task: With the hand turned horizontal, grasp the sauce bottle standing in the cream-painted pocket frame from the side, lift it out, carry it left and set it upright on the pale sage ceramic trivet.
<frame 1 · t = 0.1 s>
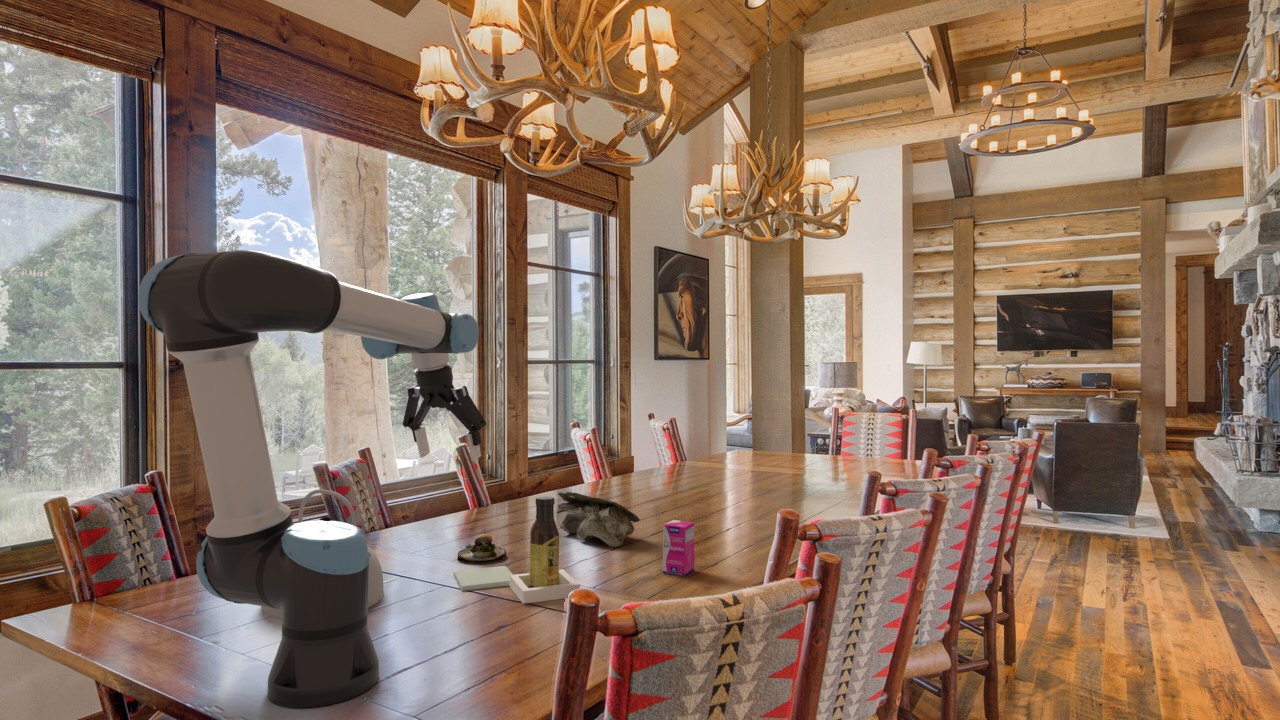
hand: (450, 456, 155), 28 cm above the table, tool tilted 20°, fingers open, 13 cm apart
kettle: (328, 602, 142), on the table
supplement box: (678, 572, 163), on the table
pocket frame: (544, 591, 148), on the table
sauce bottle: (544, 592, 148), resting in pocket frame
log: (594, 538, 196), on the table
trivet: (484, 579, 156), on the table
burger: (482, 559, 175), on the table
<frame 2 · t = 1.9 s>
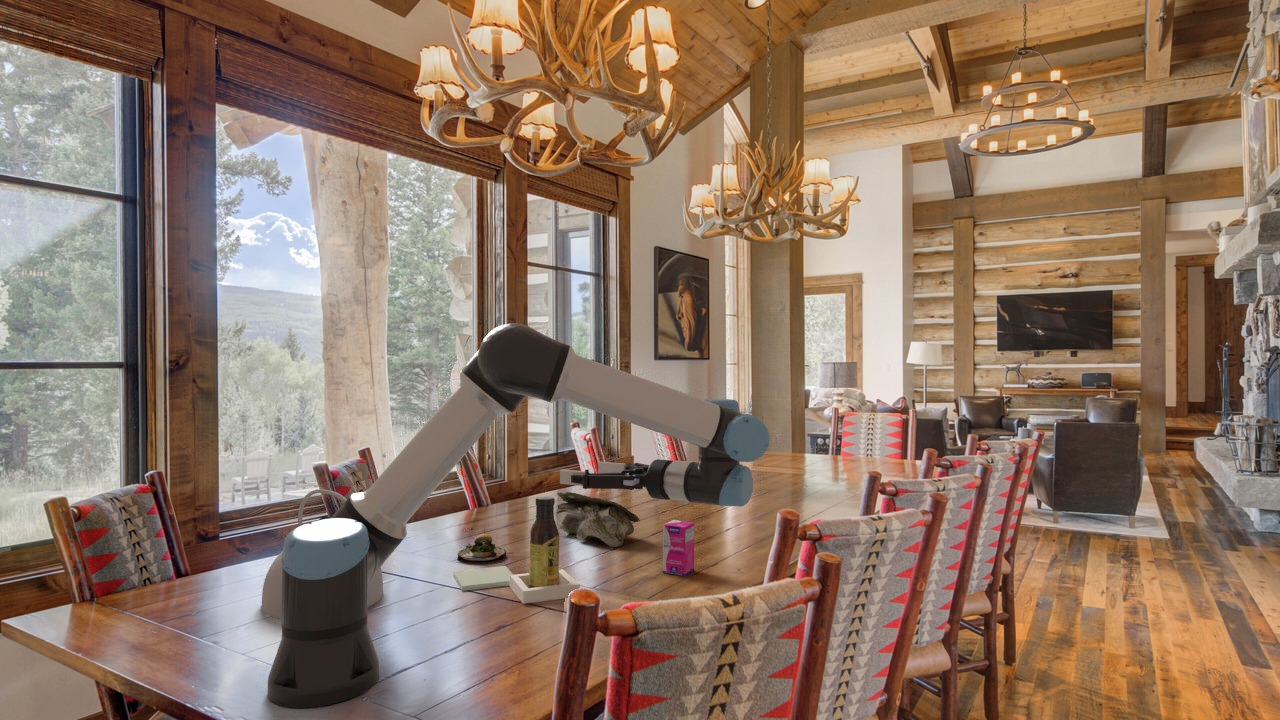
hand: (580, 472, 144), 26 cm above the table, tool horizontal, fingers open, 13 cm apart
nothing on the table moved.
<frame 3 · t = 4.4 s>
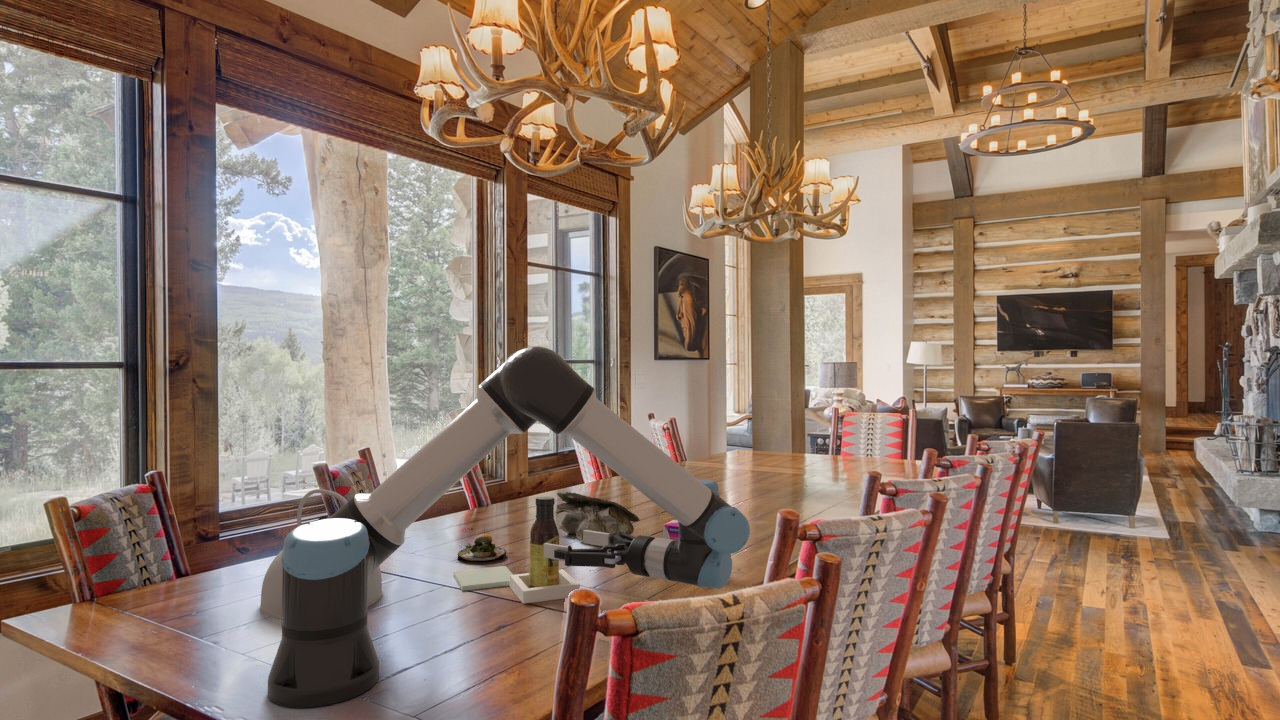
hand: (565, 542, 146), 11 cm above the table, tool horizontal, fingers open, 13 cm apart
nothing on the table moved.
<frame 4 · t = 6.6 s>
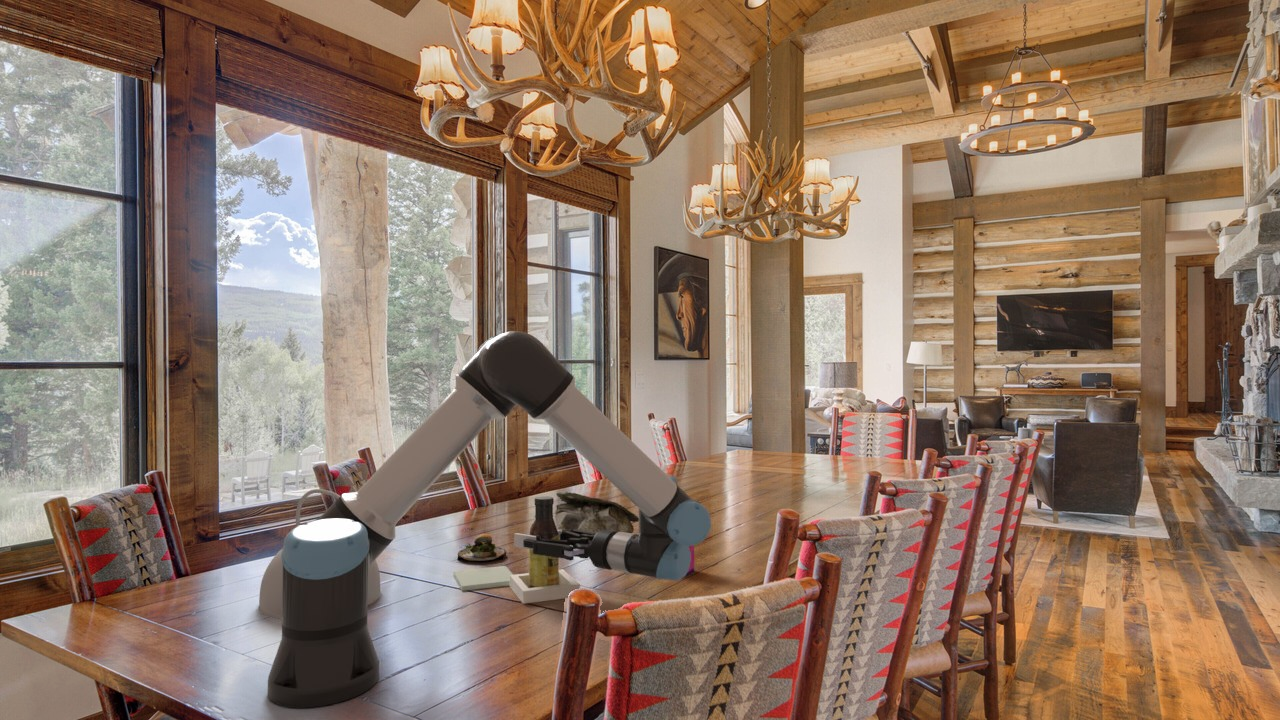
hand: (525, 536, 151), 11 cm above the table, tool horizontal, fingers closed on sauce bottle, 6 cm apart
sauce bottle: (544, 592, 148), resting in pocket frame, touching gripper
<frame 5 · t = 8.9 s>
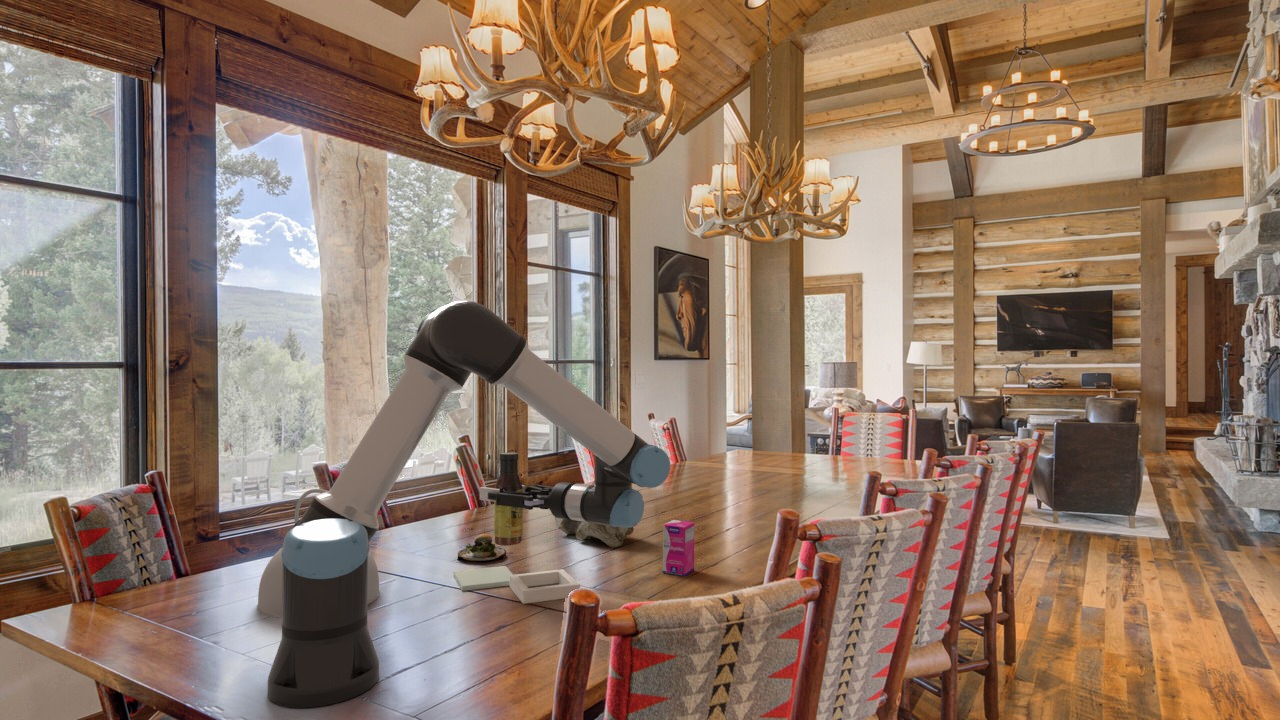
hand: (491, 491, 157), 20 cm above the table, tool horizontal, fingers closed on sauce bottle, 6 cm apart
sauce bottle: (508, 544, 154), point 9 cm above the table, touching gripper
when the fingers open (13 cm above the table, at t = 11.4 s): sauce bottle stays where it is, resting on trivet.
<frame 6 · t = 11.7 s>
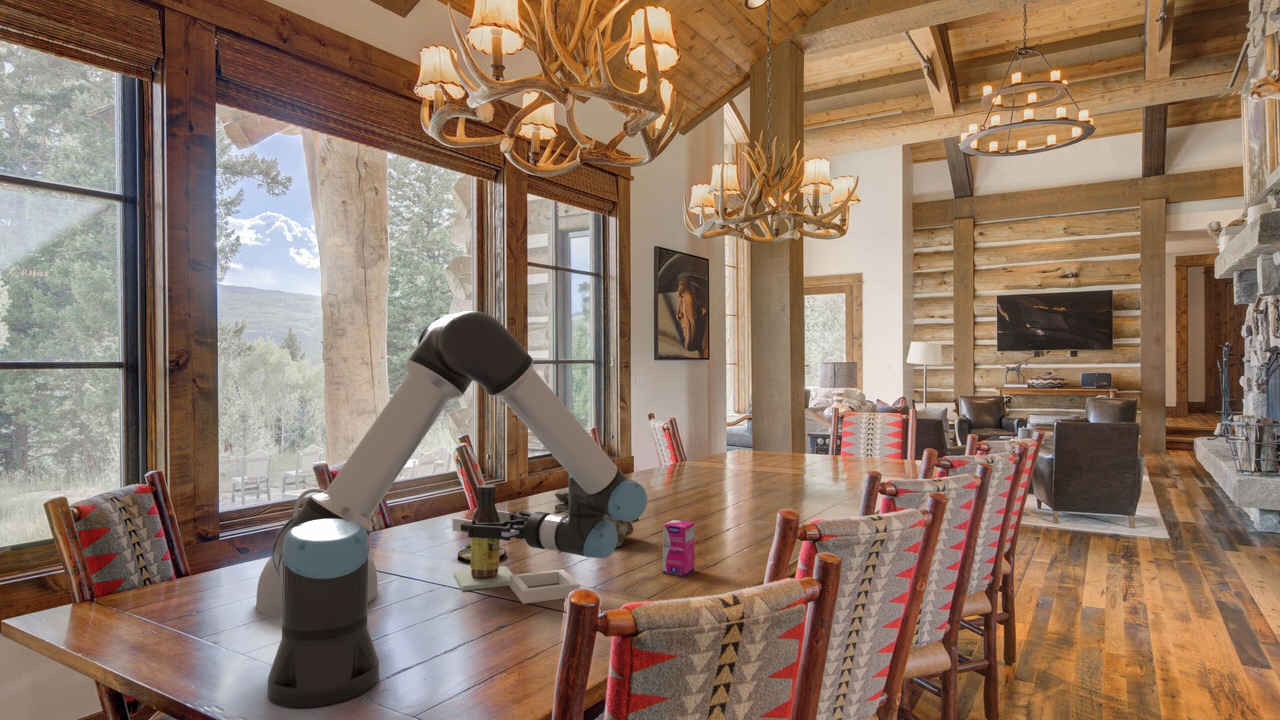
hand: (471, 519, 158), 13 cm above the table, tool horizontal, fingers open, 10 cm apart
sauce bottle: (485, 576, 156), point 1 cm above the table, touching trivet
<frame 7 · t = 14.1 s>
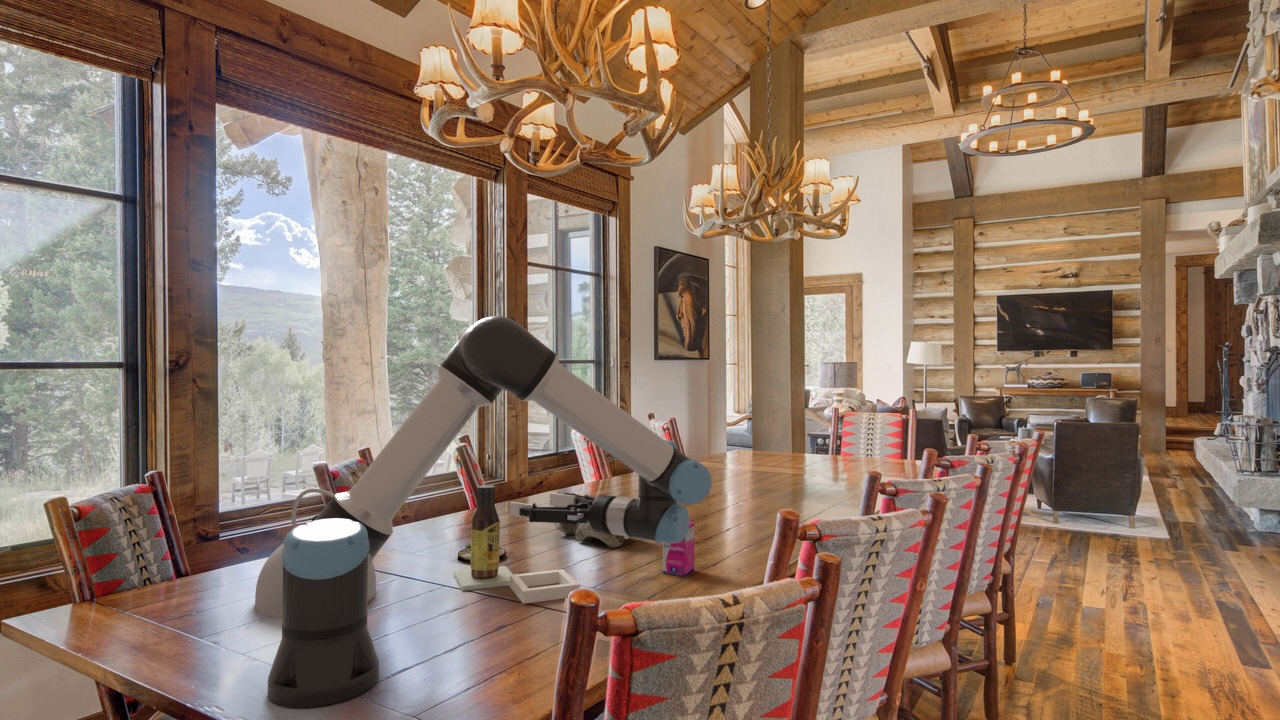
hand: (531, 503, 151), 18 cm above the table, tool horizontal, fingers open, 13 cm apart
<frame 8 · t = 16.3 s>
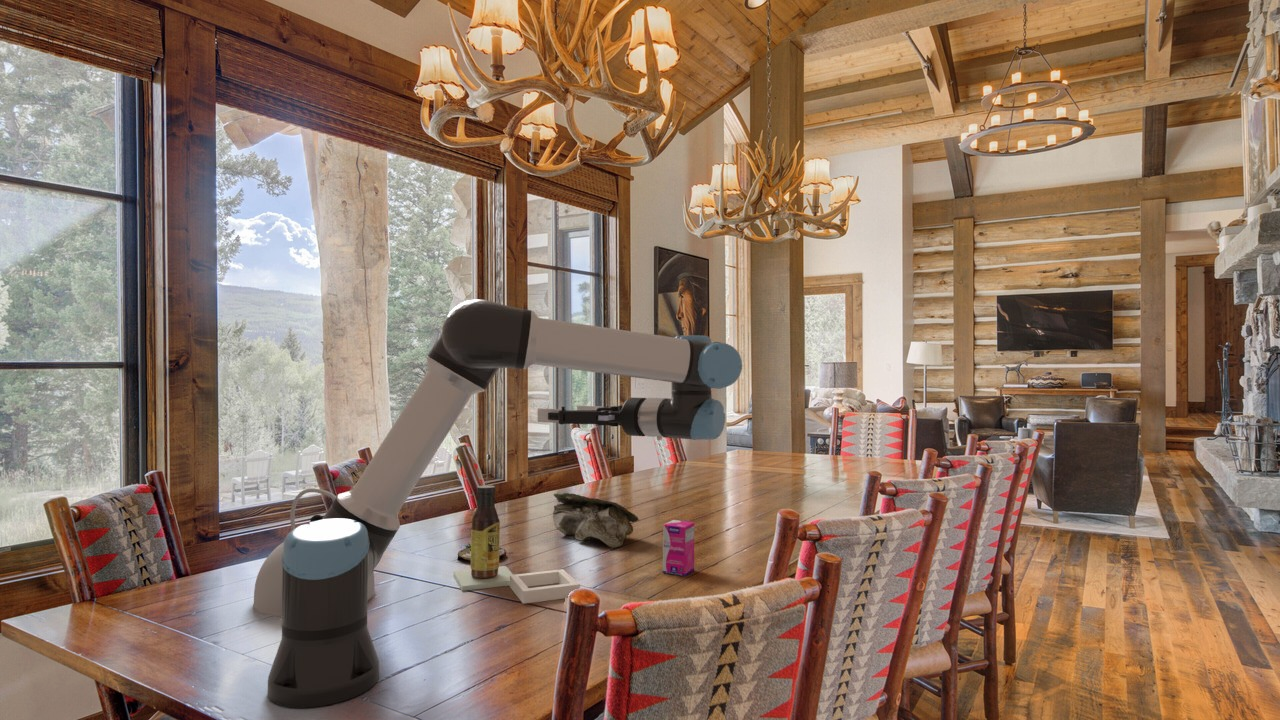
hand: (559, 413, 146), 38 cm above the table, tool horizontal, fingers open, 13 cm apart
at the end: sauce bottle 0.0 cm from the trivet (horizontally); sauce bottle tilted 0°; the gripper is holding nothing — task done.
